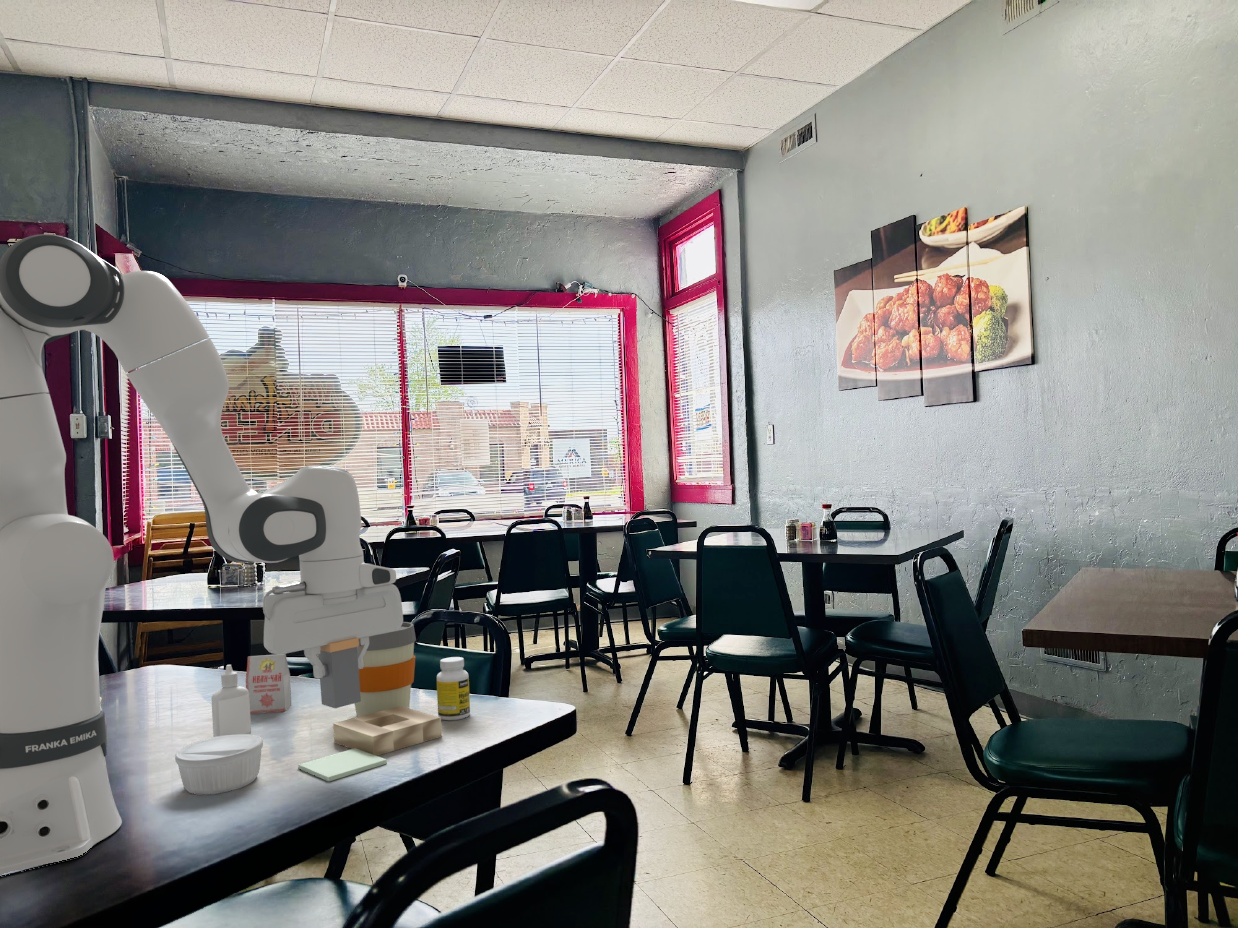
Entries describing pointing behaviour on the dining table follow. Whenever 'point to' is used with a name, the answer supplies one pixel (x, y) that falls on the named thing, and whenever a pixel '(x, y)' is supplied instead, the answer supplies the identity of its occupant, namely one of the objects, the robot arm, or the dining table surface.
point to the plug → (340, 673)
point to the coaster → (342, 764)
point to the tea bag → (268, 683)
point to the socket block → (387, 730)
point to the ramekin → (220, 763)
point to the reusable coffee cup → (387, 671)
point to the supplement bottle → (453, 689)
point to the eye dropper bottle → (231, 707)
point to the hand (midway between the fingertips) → (339, 673)
